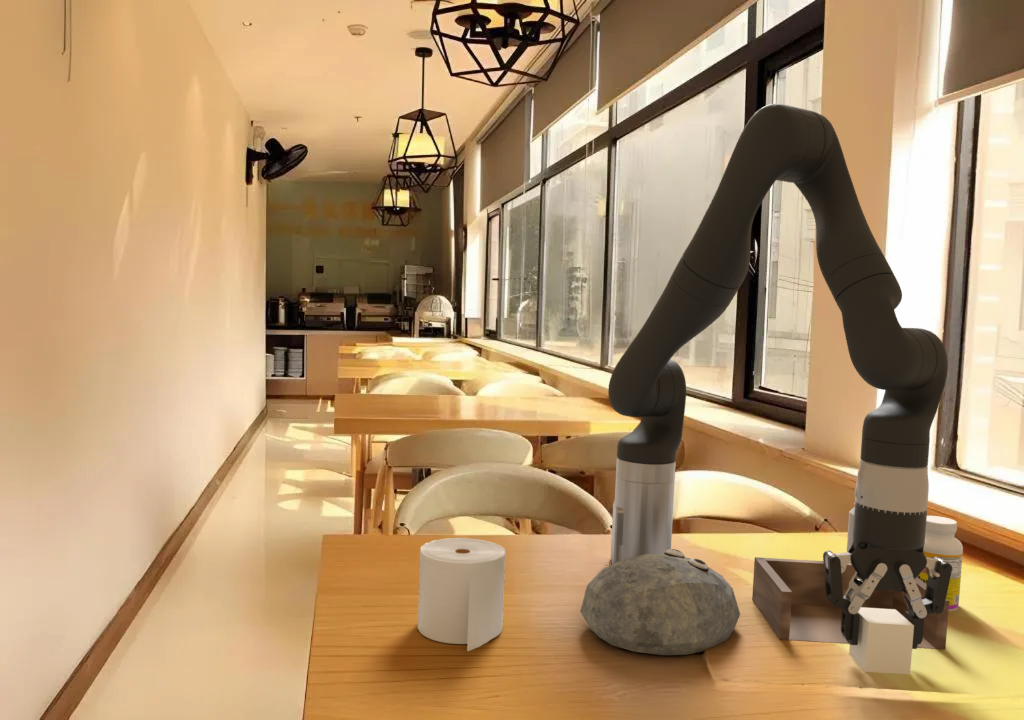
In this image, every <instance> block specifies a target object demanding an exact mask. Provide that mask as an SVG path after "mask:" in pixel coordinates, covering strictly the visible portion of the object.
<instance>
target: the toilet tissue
mask: <svg viewBox="0 0 1024 720" xmlns="http://www.w3.org/2000/svg"><path fill="white" fill-rule="evenodd" d="M419 552H420V553H419V573H418V574H419V575H418V576H419V582H418V601H417V603H418V604H417V605H418V609H417V630H418V632H419V633H420V634H421V635H422V636H424V637H426V638H428V639H429V640H432V641H435V642H439V643H445V644H453V645H467V646H466V647H467V648H466V652H470V651H472V650H474V649H477V648H480V647H481V646H483V645H485V644H487V643H488V642H489V641H491V640H492V639H494V638H496V637H498V636H499V635H500V634H501V633H502V630H503V623H504V619H503V618H504V617H503V615H504V597H505V596H504V593H505V582H506V581H505V574H506V569H505V568H506V549H505V548H504V547H503V546H501V545H500V544H498V543H495V542H494V541H493V542H492V541H488V540H484V539H478V538H468V537H467V538H466V537H456V538H455V537H453V538H452V537H451V538H449V537H446V538H442V539H435V540H431V541H430V542H425V543H424V544H423V545H421V546H420V551H419Z"/></svg>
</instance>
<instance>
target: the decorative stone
mask: <svg viewBox="0 0 1024 720" xmlns="http://www.w3.org/2000/svg"><path fill="white" fill-rule="evenodd" d="M582 600H583V601H582V603H581V606H580V610H579V611H580V613H581V615H582V617H583V619H584V620H585V622H586V623H587V625H588V627H589V629H591V631H592V632H593V633H594V634H595V635H596V636H597V637H598V638H600V639H602V640H603V641H605V642H606V643H608V644H609V645H611V646H614V647H615V648H620V649H625V650H628V651H631V652H633V653H634V652H635V653H643V654H650V655H656V656H657V655H658V656H684V655H685V656H687V655H691V654H696V653H700V652H701V653H702V652H705V650H706V649H711V648H714V647H715V646H717V645H719V644H721V643H723V642H725V641H727V640H728V639H729V638H730V636H731V635H732V633H733V631H734V629H735V628H736V626H737V623H738V621H739V620H740V619H739V618H740V616H741V612H740V609H739V606H738V602H737V599H736V595H735V592H734V589H733V587H732V586H731V584H729V582H728V581H727V580H726V579H725V577H724V576H723V575H722V574H720V573H719V572H717V571H715V570H714V569H713V568H711V567H709V566H708V564H707V563H706V562H705V561H703V560H701V559H699V558H690V557H687V556H686V557H685V554H684V552H682V551H680V550H678V549H675V548H671V549H668V550H666V551H665V553H664V554H645V555H640V556H636V557H632V558H628V559H624V560H621V561H619V562H616V563H614V564H612V563H611V564H610V565H609V566H606V567H604V568H602V569H601V570H600V571H599V572H598V573H597V574H596V575H595V576H594V577H593V578H592V579H591V580H590V581H589V582H588V583H587V585H586V589H585V593H584V597H583V599H582Z"/></svg>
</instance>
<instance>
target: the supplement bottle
mask: <svg viewBox="0 0 1024 720" xmlns="http://www.w3.org/2000/svg"><path fill="white" fill-rule="evenodd" d="M957 526H958V522H957V521H956V520H954V519H952V518H948V517H945V516H938V515H927V519H926V533H925V544H924V548H923V551H924V554H925V556H926V557H928V558H934V557H940V558H941V559H943V560H945V561H947V562H948V563H949V564H951V566H952V572H951V577H950V582H949V586H948V591H947V596H946V599H947V600H948V601H949V609H948V612H955V611H958V609H959V604H960V592H961V578H962V568H963V567H962V565H963V564H962V563H963V554H964V546H963V544H962V542H961V541H960V540H959V539H957V538H956V537H955V534H956V532H957V530H958V527H957ZM928 576H929V575H928V574H927V573H926V567H925V568H924V569H923V570H922V572H921V573H920V574H919V575H918V576H917V578H919V579H920V580H921V581H923V582H924V583H925V584H927V581H928Z"/></svg>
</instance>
